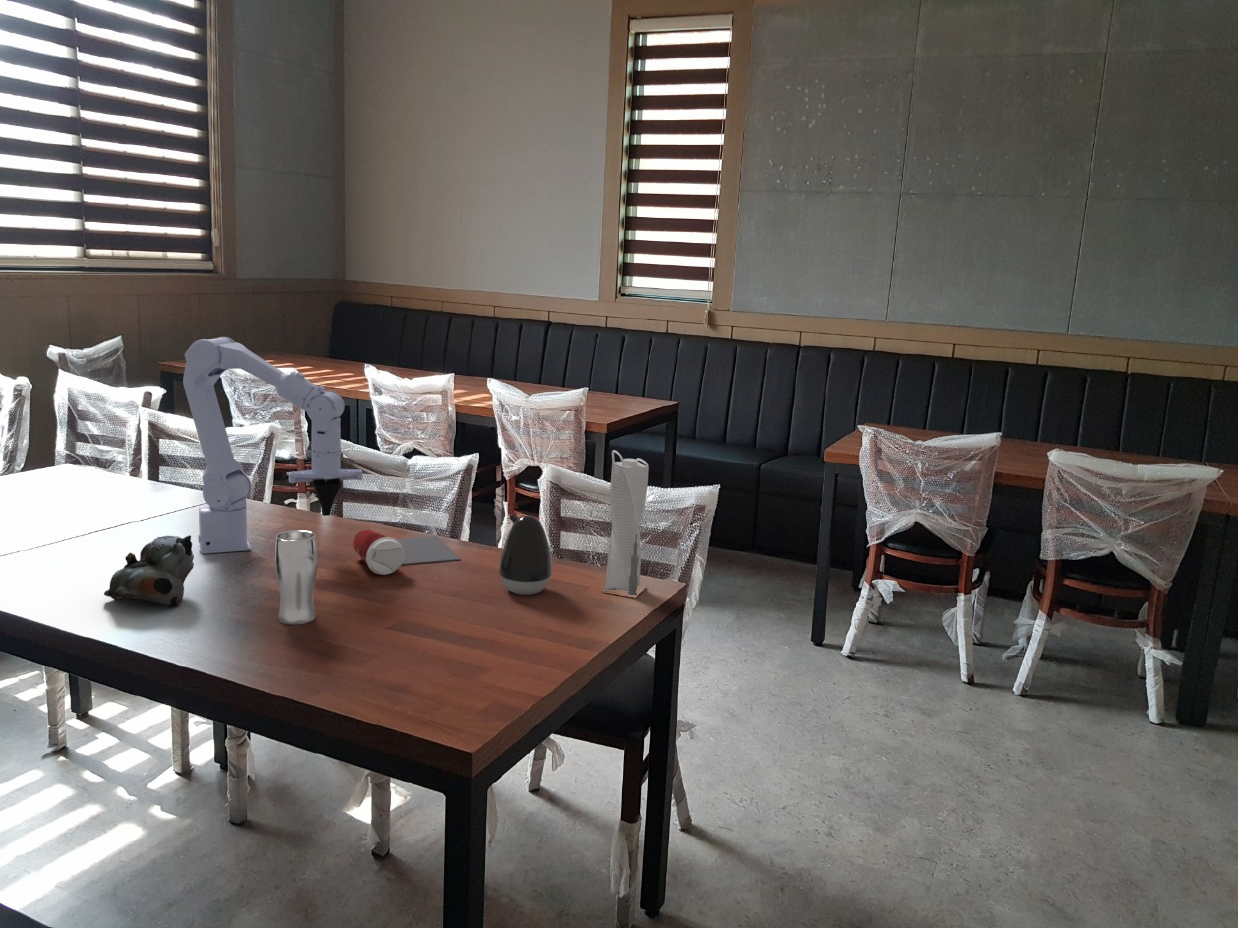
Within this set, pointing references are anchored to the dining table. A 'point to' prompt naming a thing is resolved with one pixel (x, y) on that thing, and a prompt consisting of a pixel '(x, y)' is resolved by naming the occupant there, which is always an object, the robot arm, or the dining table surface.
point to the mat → (426, 550)
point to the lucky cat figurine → (155, 572)
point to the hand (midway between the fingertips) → (326, 514)
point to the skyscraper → (626, 523)
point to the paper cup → (379, 551)
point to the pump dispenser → (525, 557)
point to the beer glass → (296, 575)
